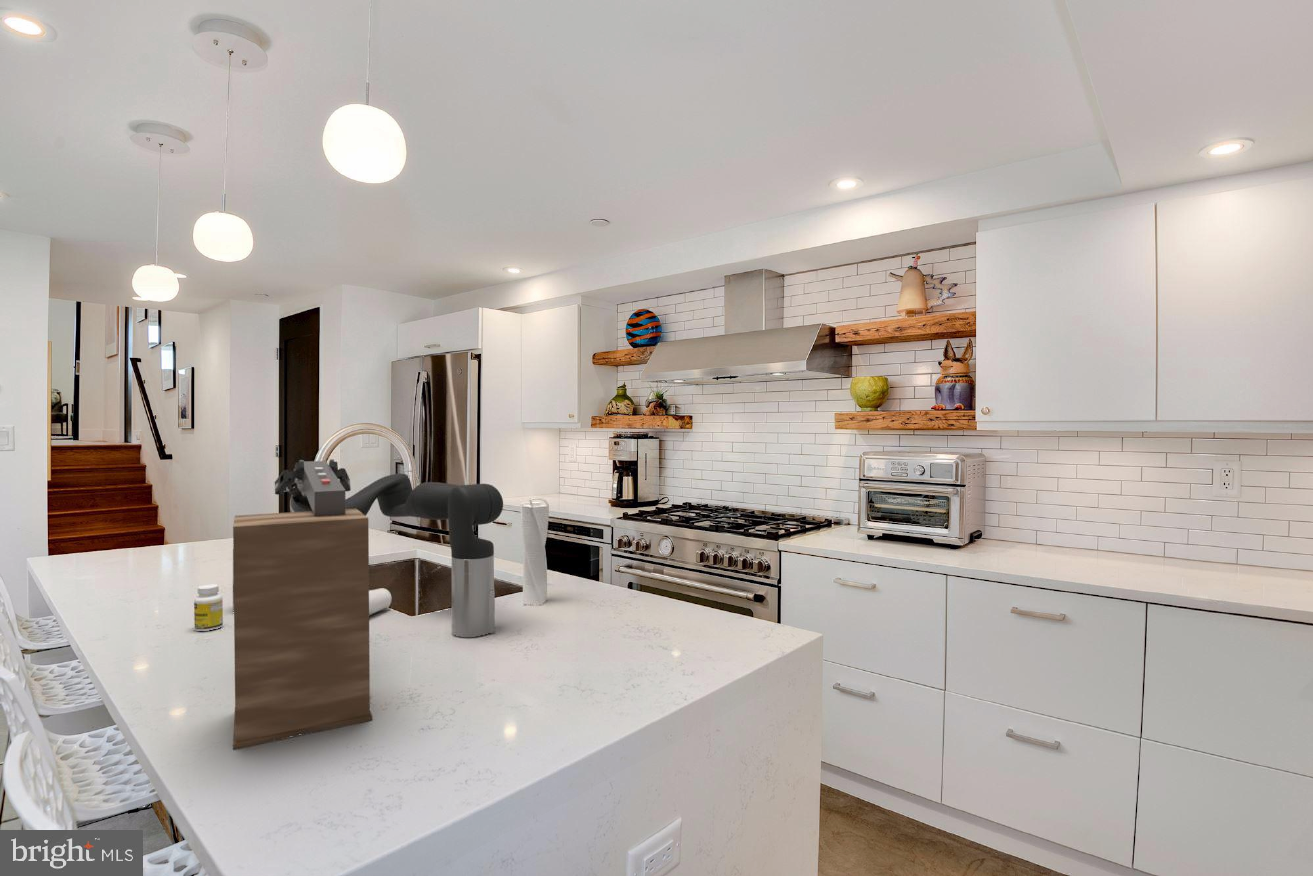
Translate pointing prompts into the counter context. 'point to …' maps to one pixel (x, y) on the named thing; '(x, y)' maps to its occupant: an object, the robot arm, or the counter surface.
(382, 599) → the drinking glass
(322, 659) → the brown tall block
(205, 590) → the supplement bottle
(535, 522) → the twisted white column
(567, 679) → the counter surface
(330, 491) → the power strip
